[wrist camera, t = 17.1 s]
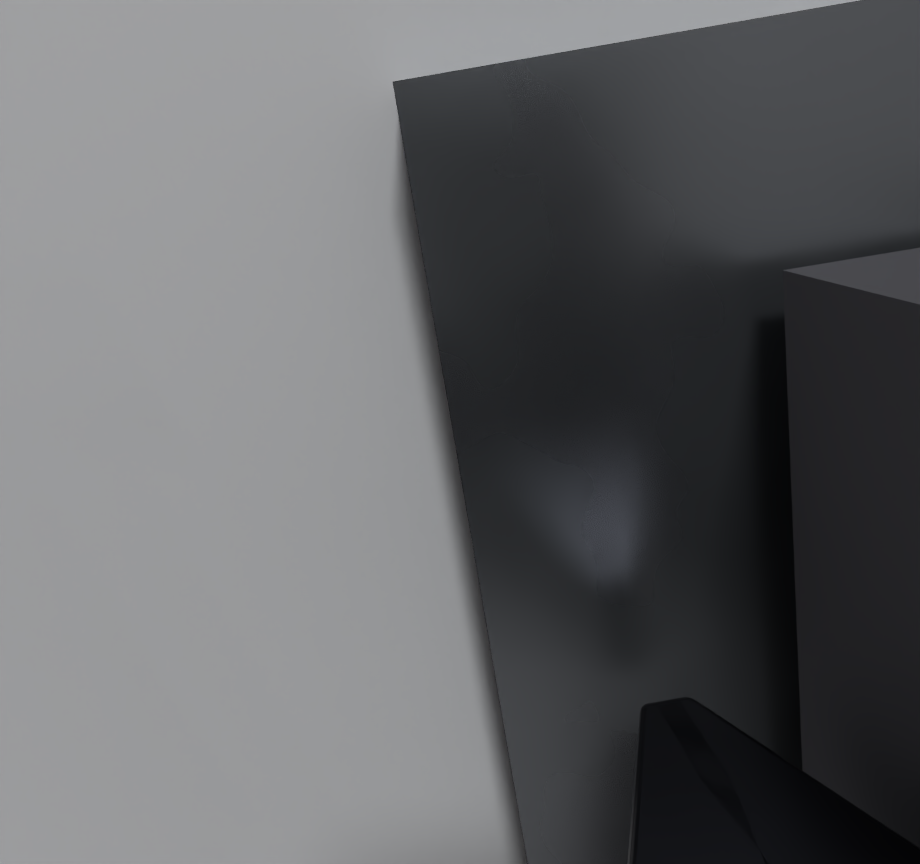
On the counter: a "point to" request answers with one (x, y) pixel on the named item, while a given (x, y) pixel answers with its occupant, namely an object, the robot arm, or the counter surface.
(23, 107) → the counter surface
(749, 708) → the vise
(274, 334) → the counter surface
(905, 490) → the vise jaw
